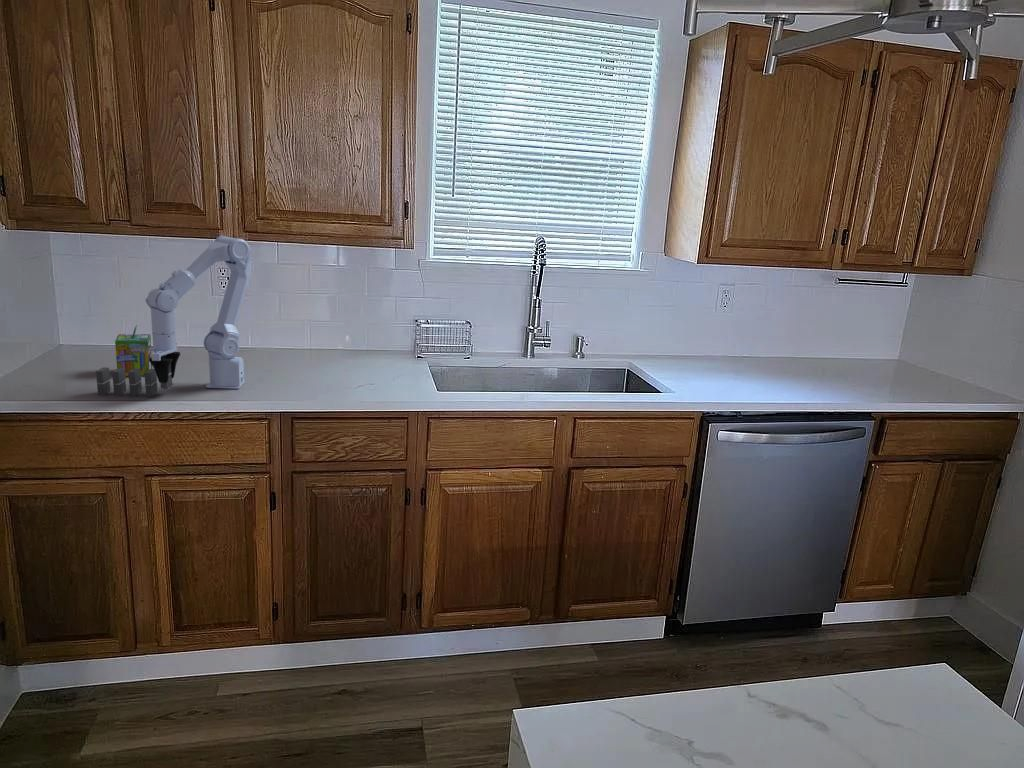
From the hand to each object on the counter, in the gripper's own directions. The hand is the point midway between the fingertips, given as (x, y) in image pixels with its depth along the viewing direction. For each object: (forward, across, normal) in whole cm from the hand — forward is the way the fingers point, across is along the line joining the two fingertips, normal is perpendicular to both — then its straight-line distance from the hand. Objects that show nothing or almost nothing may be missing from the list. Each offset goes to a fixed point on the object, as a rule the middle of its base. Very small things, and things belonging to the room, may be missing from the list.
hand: (166, 380), depth 203 cm
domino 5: (+2, 0, 0) cm, 2 cm away
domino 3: (+4, 0, -8) cm, 10 cm away
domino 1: (+4, 0, -17) cm, 17 cm away
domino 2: (+4, 0, -13) cm, 13 cm away
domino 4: (+4, 0, -4) cm, 6 cm away
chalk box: (+5, -23, -17) cm, 29 cm away
